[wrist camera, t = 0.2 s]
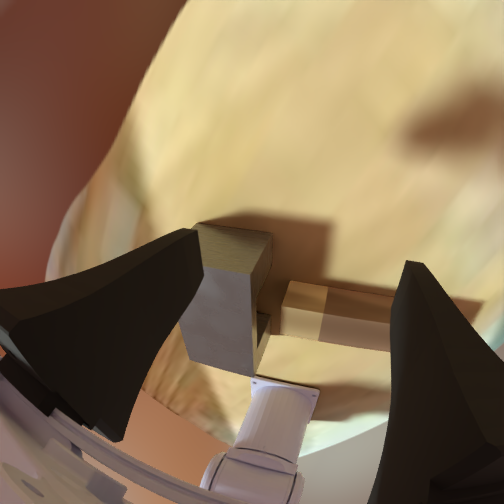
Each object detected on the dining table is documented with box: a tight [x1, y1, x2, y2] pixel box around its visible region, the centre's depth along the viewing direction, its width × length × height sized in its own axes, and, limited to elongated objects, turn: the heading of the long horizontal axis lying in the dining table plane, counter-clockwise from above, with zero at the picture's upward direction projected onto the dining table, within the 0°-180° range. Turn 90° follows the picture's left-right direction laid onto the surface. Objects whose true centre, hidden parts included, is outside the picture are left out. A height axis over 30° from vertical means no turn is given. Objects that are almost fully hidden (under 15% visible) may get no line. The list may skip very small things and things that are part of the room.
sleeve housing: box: [179, 223, 272, 378], centre depth 23 cm, size 11×6×5 cm, turn 2°
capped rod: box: [280, 280, 394, 352], centre depth 21 cm, size 3×14×3 cm, turn 92°
